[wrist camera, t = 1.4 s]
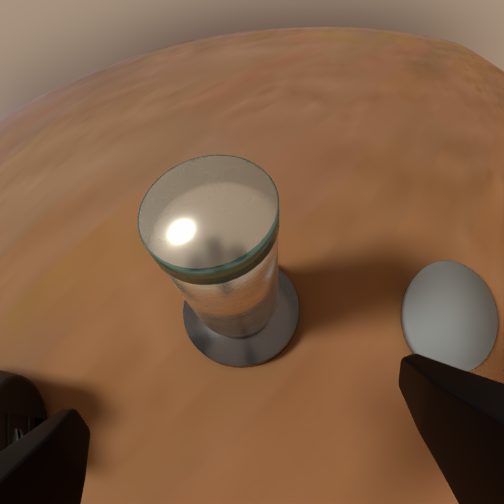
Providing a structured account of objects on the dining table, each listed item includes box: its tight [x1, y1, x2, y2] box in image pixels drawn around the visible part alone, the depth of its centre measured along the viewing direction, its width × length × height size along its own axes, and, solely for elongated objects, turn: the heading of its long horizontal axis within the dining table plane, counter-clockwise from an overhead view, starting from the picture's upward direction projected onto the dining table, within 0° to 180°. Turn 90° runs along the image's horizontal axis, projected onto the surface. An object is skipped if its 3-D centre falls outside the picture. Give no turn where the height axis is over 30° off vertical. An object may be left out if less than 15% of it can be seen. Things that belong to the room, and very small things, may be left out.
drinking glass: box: [138, 155, 279, 337], centre depth 15 cm, size 5×5×9 cm
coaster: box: [401, 261, 498, 371], centre depth 19 cm, size 9×9×1 cm
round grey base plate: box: [183, 268, 299, 368], centre depth 20 cm, size 8×8×3 cm
